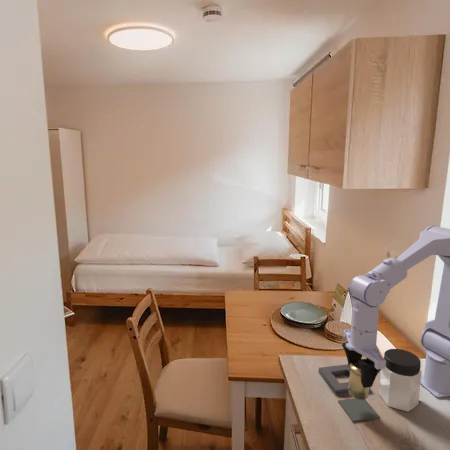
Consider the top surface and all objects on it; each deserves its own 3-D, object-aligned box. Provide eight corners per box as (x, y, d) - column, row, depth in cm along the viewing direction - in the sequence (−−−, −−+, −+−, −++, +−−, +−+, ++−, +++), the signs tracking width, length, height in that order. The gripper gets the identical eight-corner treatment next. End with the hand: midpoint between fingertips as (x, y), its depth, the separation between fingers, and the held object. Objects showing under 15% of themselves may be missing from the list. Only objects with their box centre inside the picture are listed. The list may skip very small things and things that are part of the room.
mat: (363, 398, 88) (363, 397, 88) (379, 418, 81) (380, 416, 81) (338, 401, 86) (338, 400, 86) (352, 422, 80) (352, 420, 80)
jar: (404, 416, 81) (408, 371, 79) (373, 397, 88) (376, 355, 86) (423, 402, 86) (428, 359, 84) (392, 385, 93) (396, 344, 91)
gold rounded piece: (361, 385, 86) (364, 360, 85) (374, 399, 81) (377, 372, 80) (342, 387, 85) (345, 362, 83) (354, 401, 80) (358, 375, 78)
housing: (350, 368, 100) (350, 363, 100) (370, 390, 91) (370, 385, 90) (318, 372, 99) (318, 367, 98) (335, 395, 89) (335, 390, 89)
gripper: (333, 314, 86) (330, 363, 88) (366, 344, 72) (362, 401, 74) (359, 312, 87) (355, 360, 90) (396, 341, 73) (391, 397, 76)
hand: (360, 378), depth 82 cm, fingers closed on gold rounded piece, 5 cm apart
